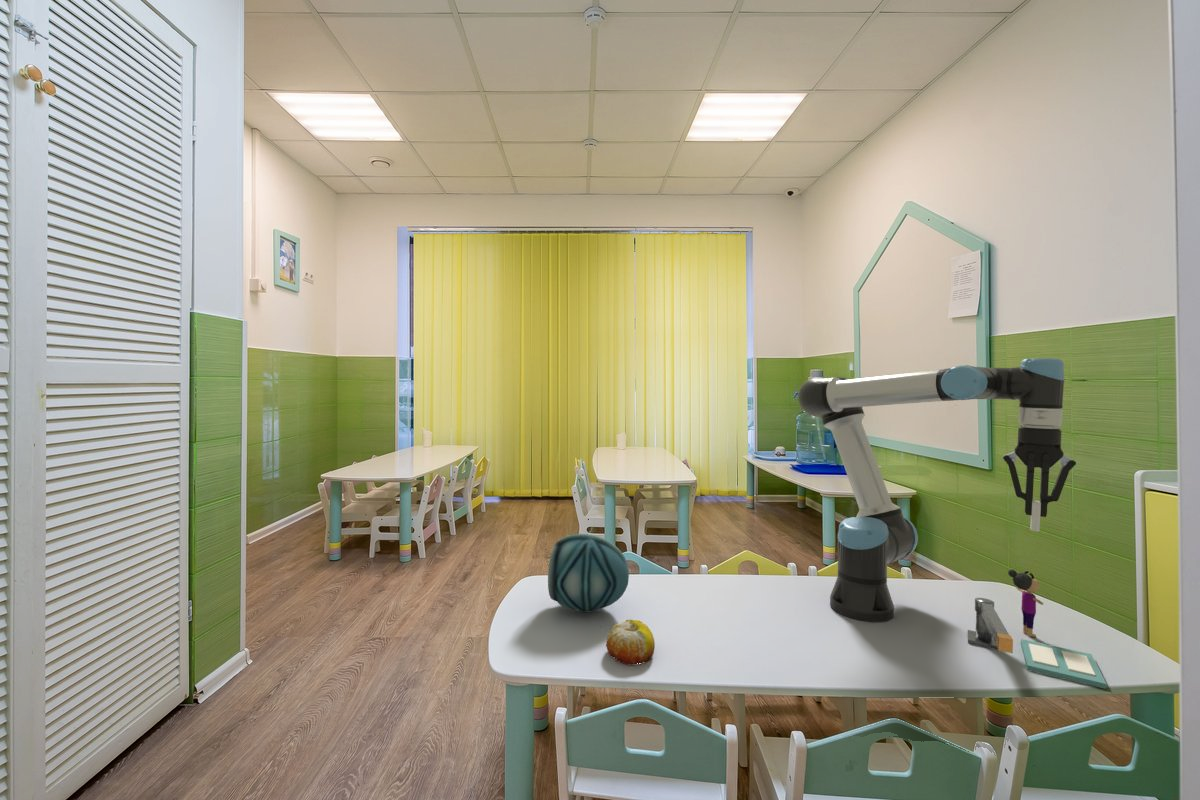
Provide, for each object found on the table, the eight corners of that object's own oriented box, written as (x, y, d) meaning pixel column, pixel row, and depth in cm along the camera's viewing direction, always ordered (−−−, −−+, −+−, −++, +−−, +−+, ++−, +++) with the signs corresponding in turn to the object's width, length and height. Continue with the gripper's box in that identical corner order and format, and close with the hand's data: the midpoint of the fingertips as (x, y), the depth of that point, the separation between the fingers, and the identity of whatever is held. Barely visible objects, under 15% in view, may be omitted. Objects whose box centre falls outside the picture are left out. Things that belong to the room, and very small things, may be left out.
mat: (1027, 669, 109) (1027, 663, 109) (1020, 643, 120) (1020, 637, 120) (1106, 689, 102) (1106, 682, 102) (1091, 658, 114) (1091, 652, 114)
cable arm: (973, 607, 123) (973, 596, 123) (992, 610, 122) (992, 599, 122) (994, 649, 103) (994, 636, 103) (1017, 654, 102) (1017, 640, 102)
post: (967, 643, 120) (968, 614, 120) (967, 633, 125) (968, 605, 125) (1000, 650, 117) (1001, 621, 117) (999, 639, 122) (999, 611, 122)
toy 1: (560, 594, 147) (560, 523, 147) (631, 598, 144) (631, 526, 144) (544, 624, 129) (544, 543, 128) (625, 629, 126) (625, 547, 125)
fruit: (603, 639, 120) (614, 606, 120) (646, 654, 120) (657, 620, 120) (602, 664, 109) (614, 627, 109) (650, 679, 109) (662, 643, 109)
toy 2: (1051, 646, 119) (1052, 580, 119) (1023, 643, 120) (1024, 578, 120) (1023, 625, 129) (1025, 565, 129) (998, 623, 130) (999, 563, 130)
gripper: (1003, 425, 119) (999, 528, 120) (1080, 429, 112) (1075, 539, 112) (1002, 424, 125) (998, 521, 126) (1076, 427, 118) (1071, 531, 118)
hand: (1034, 529), depth 119 cm, fingers closed
